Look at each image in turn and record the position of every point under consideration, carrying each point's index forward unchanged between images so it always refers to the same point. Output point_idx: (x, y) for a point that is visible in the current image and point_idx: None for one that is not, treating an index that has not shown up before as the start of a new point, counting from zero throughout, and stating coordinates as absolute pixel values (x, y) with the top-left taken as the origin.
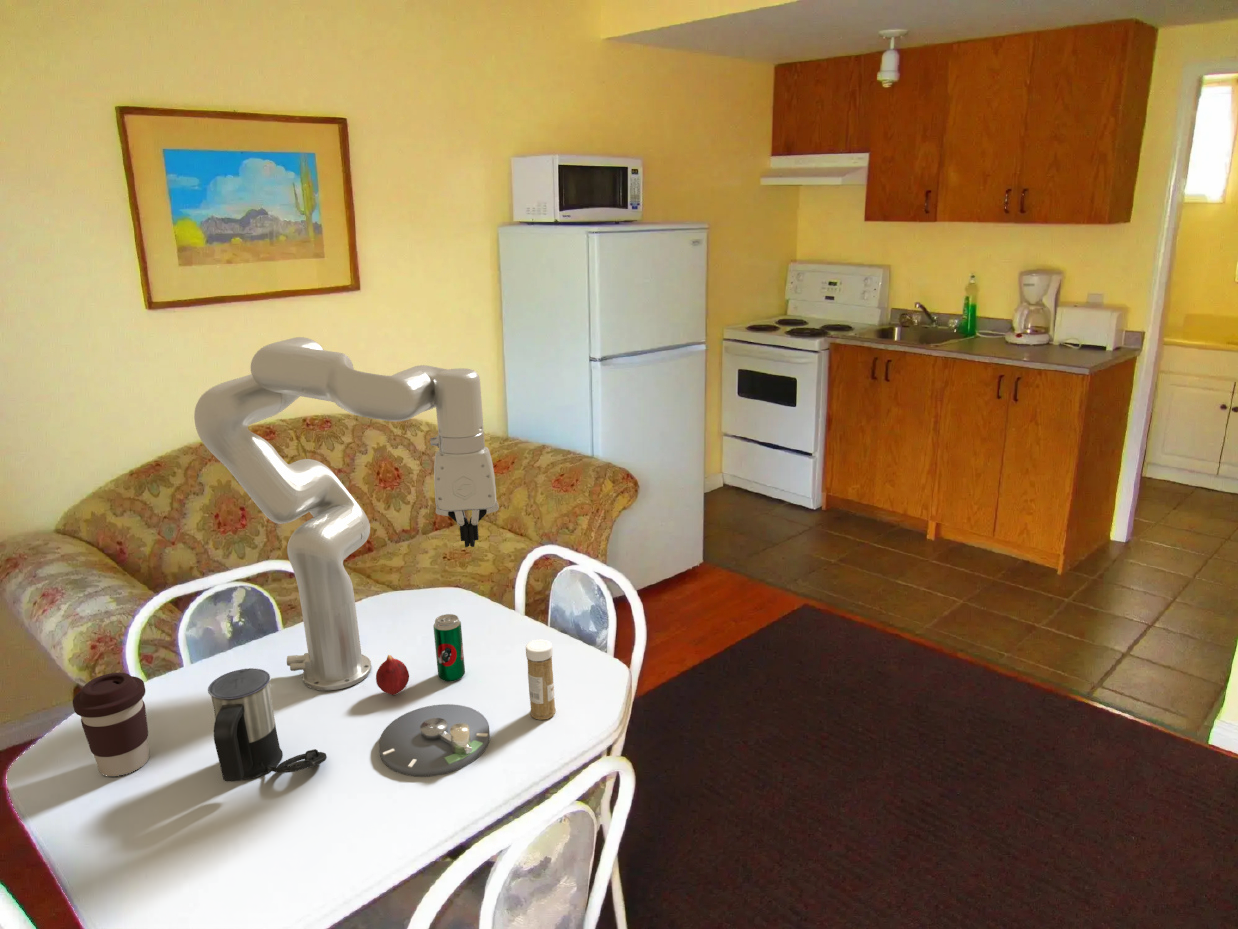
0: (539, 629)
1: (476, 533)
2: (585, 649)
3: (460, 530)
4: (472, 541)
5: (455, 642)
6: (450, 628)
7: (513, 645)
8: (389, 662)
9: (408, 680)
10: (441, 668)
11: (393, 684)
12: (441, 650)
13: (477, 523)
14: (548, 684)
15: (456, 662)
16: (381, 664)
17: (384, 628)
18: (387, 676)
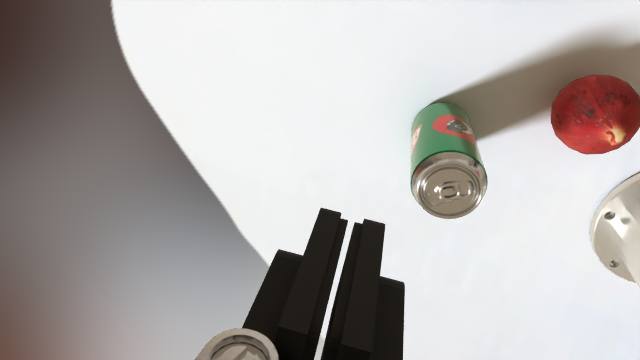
0: (247, 226)
1: (273, 283)
2: (171, 127)
3: (398, 345)
4: (323, 231)
5: (434, 136)
6: (446, 155)
7: (300, 192)
8: (620, 120)
9: (553, 102)
10: (467, 122)
11: (605, 76)
12: (469, 136)
13: (220, 336)
14: None
15: (434, 116)
16: (629, 138)
17: (520, 337)
18: (625, 91)
